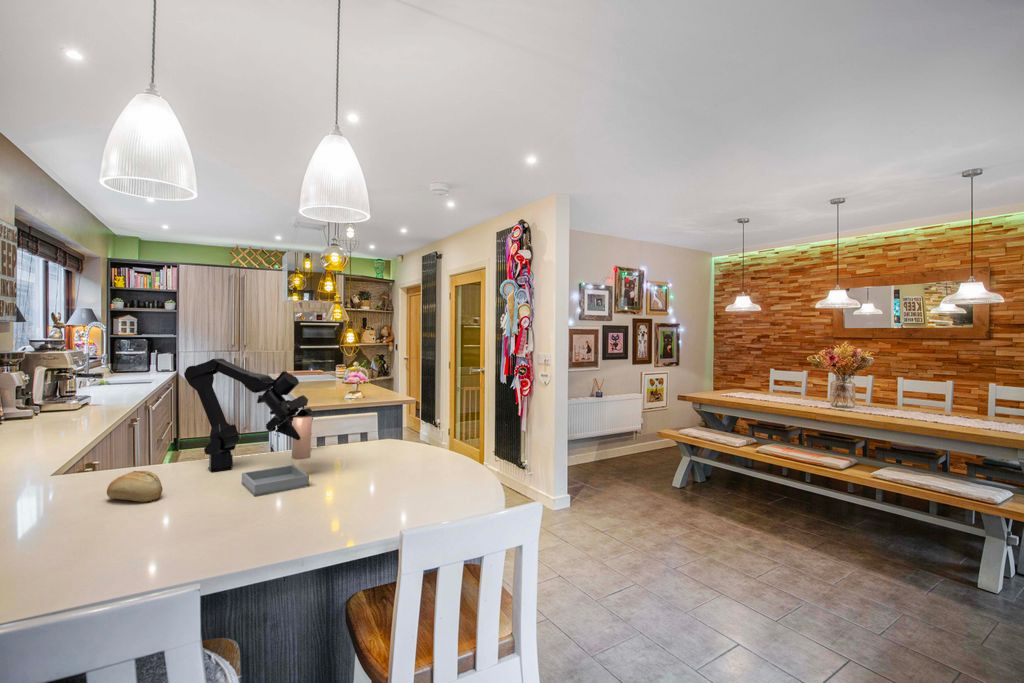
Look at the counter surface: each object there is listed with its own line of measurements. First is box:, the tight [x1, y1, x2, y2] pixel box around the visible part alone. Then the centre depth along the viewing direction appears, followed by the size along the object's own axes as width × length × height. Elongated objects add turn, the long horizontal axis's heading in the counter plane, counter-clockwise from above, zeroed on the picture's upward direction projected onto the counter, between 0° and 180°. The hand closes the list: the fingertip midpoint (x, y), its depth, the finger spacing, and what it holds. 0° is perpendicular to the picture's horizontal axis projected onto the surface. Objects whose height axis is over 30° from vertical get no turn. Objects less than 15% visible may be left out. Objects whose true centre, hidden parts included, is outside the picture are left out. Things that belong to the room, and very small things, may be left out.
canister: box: [291, 415, 313, 460], centre depth 165 cm, size 6×6×14 cm
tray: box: [241, 464, 310, 497], centre depth 154 cm, size 16×16×4 cm
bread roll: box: [106, 470, 164, 503], centre depth 139 cm, size 10×15×8 cm, turn 87°
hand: (305, 437), depth 165 cm, fingers closed on canister, 6 cm apart
